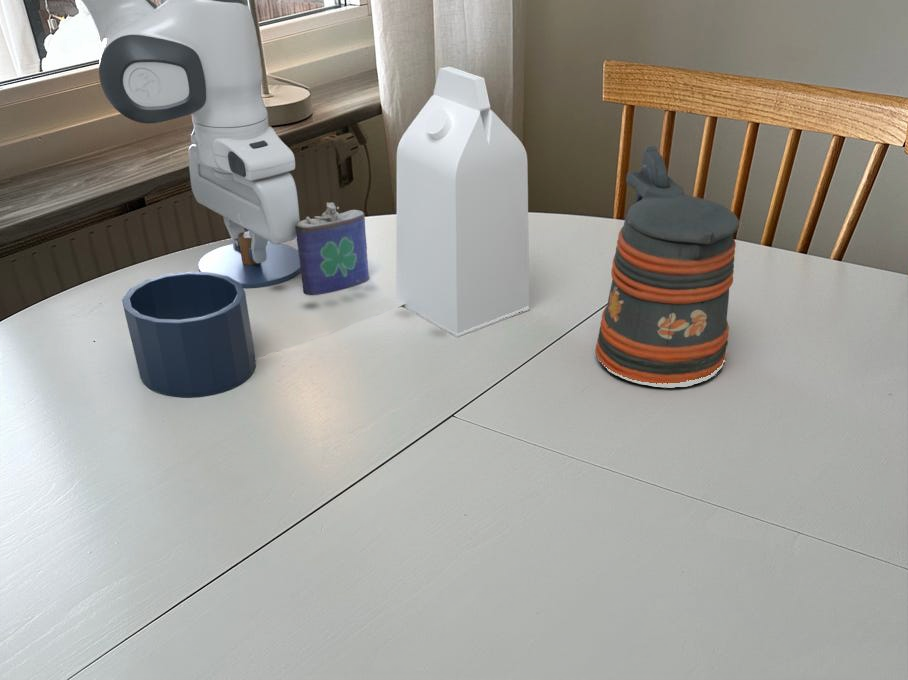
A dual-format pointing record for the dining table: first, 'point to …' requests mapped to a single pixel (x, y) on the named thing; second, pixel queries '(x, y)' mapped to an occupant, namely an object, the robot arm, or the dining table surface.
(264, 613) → the dining table surface
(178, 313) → the pot
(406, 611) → the dining table surface
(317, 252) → the flask
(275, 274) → the pot lid
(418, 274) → the milk
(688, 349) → the beer stein
